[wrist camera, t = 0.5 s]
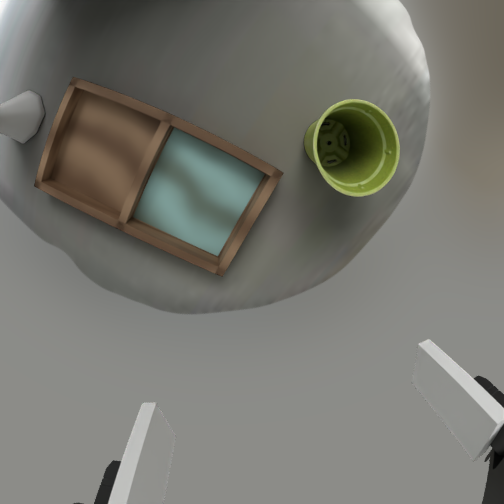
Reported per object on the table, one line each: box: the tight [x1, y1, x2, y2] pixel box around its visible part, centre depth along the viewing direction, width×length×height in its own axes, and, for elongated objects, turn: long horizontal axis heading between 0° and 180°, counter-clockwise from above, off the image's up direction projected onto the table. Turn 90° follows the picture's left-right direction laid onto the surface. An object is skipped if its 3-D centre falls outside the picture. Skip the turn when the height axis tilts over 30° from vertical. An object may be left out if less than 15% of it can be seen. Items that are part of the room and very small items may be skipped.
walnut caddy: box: [34, 77, 283, 276], centre depth 28 cm, size 14×27×3 cm, turn 60°
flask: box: [0, 90, 45, 144], centre depth 18 cm, size 7×7×10 cm
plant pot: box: [304, 99, 400, 197], centre depth 26 cm, size 9×9×9 cm
